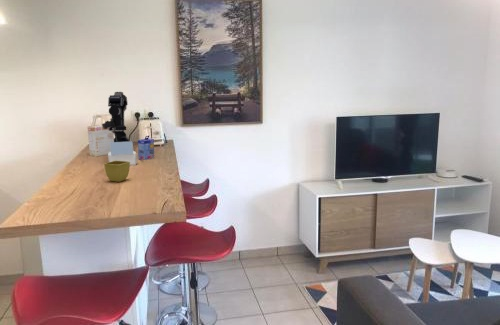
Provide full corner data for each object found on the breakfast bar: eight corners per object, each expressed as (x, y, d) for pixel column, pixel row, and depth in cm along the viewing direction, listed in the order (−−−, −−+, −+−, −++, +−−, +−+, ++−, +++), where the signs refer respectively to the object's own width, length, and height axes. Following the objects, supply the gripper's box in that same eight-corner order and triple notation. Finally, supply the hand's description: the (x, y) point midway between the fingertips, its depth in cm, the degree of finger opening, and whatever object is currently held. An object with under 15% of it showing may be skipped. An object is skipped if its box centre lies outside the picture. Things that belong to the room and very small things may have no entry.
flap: (111, 154, 230) (110, 142, 231) (133, 153, 234) (132, 141, 234) (111, 154, 230) (110, 142, 230) (133, 153, 233) (132, 141, 234)
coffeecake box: (109, 152, 280) (106, 124, 276) (115, 153, 276) (113, 124, 272) (89, 155, 268) (86, 126, 264) (95, 156, 264) (93, 126, 260)
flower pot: (131, 179, 201) (130, 161, 199) (120, 183, 193) (119, 164, 191) (116, 178, 204) (115, 160, 202) (104, 182, 196) (103, 163, 194)
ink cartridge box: (145, 160, 250) (144, 136, 247) (138, 159, 252) (136, 136, 250) (155, 157, 259) (153, 134, 256) (147, 157, 261) (146, 134, 258)
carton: (109, 162, 243) (108, 152, 242) (135, 161, 248) (135, 150, 246) (108, 166, 231) (108, 155, 230) (136, 165, 236) (136, 153, 235)
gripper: (99, 117, 248) (100, 143, 249) (106, 116, 232) (107, 143, 233) (117, 117, 254) (119, 142, 255) (125, 115, 238) (127, 142, 239)
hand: (118, 142), depth 245 cm, fingers closed
